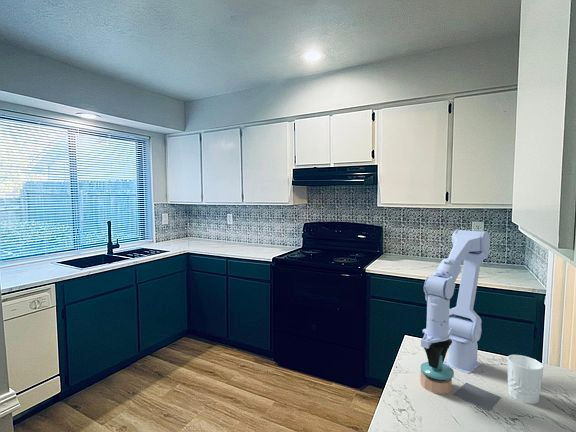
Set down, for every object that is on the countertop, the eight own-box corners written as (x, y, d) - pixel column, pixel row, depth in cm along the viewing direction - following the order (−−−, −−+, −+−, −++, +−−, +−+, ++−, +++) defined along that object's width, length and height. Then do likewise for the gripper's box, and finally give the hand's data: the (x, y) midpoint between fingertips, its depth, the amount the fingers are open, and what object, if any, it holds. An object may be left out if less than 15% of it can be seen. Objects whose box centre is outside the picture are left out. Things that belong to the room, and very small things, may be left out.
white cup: (548, 408, 84) (550, 371, 83) (514, 404, 85) (515, 367, 85) (531, 390, 91) (533, 356, 91) (500, 387, 93) (502, 353, 92)
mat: (466, 383, 94) (466, 382, 94) (501, 398, 87) (501, 397, 87) (452, 395, 89) (452, 394, 89) (489, 412, 82) (489, 411, 82)
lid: (430, 361, 98) (430, 346, 98) (459, 373, 91) (459, 356, 91) (414, 370, 93) (414, 354, 93) (443, 383, 86) (444, 365, 86)
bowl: (428, 375, 98) (429, 365, 98) (455, 387, 92) (456, 376, 92) (415, 385, 93) (415, 374, 93) (442, 399, 87) (443, 386, 87)
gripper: (436, 309, 99) (434, 352, 100) (411, 320, 90) (409, 367, 91) (460, 315, 94) (458, 361, 95) (436, 328, 85) (434, 378, 85)
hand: (436, 365), depth 92 cm, fingers closed on lid, 3 cm apart
